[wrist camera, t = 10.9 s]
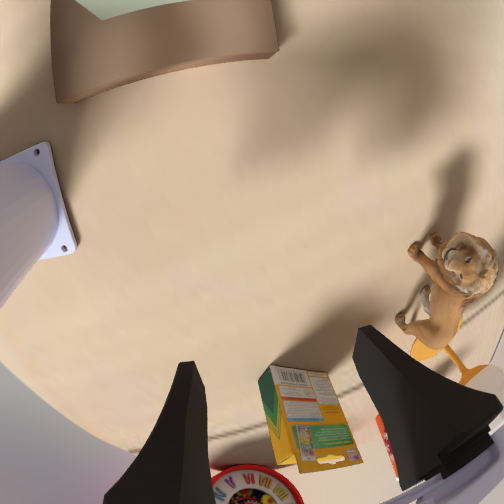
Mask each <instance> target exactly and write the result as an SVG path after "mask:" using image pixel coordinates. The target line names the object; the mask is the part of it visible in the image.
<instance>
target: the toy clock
mask: <svg viewBox="0 0 504 504" xmlns="http://www.w3.org/2000/svg"><path fill="white" fill-rule="evenodd" d="M211 480H212V486H213V491H214V496H215V501H216V504H304V502H303V499H302V497H301V495H300V494H299V492H298V490H297V489H296V488H295V486H294V485H293V484H292V483H291V482H290V481H289V480H288V479H287V478H285V477H284V476H283V475H281V474H280V473H278V472H276V471H274V470H272V469H269V468H267V467H263V466H259V465H251V464H247V465H238V466H233V467H231V468H228V469H226V470H224V471H222V472H220V473H219V474H217V475H215V476H213V477H212V478H211Z"/></svg>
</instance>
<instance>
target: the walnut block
mask: <svg viewBox="0 0 504 504" xmlns="http://www.w3.org/2000/svg"><path fill="white" fill-rule="evenodd" d="M50 31H51V55H52V67H53V78H54V86H55V94H56V101H57V103H76V102H78V101H81V100H83V99H86V98H88V97H91V96H93V95H96V94H99V93H102V92H104V91H107V90H110V89H113V88H116V87H119V86H122V85H126V84H129V83H132V82H136V81H139V80H143V79H146V78H150V77H154V76H158V75H162V74H166V73H170V72H175V71H179V70H184V69H189V68H195V67H200V66H206V65H212V64H219V63H226V62H234V61H243V60H254V59H268V58H270V57H271V56H273V55H274V54H275V53H276V52H278V51H279V47H278V40H277V34H276V28H275V22H274V16H273V10H272V5H271V0H189V1H182V2H175V3H170V4H164V5H159V6H154V7H150V8H145V9H141V10H137V11H133V12H129V13H126V14H122V15H119V16H115V17H112V18H109V19H106V20H103V21H102V20H101V19H99V18H98V17H97V16H96V15H94V14H93V13H92V12H90V11H89V10H88V9H86V8H85V7H84V6H82V5H81V4H79V3H78V2H77V1H75V0H51V13H50Z"/></svg>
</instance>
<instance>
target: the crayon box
mask: <svg viewBox="0 0 504 504" xmlns="http://www.w3.org/2000/svg"><path fill="white" fill-rule="evenodd" d="M258 384H259V389H260V393H261V398H262V402H263V407H264V411H265V415H266V420H267V424H268V429H269V433H270V438H271V442H272V446H273V450H274V455H275V459H276V463H277V465H285V464H297V465H298V468H299V473H300V474H302V473H310V472H317V471H324V470H330V469H336V468H341V467H346V466H351V465H356V464H360V463H363V460H362V458H361V456H360V453H359V451H358V449H357V446H356V443H355V440H354V438H353V436H352V433H351V430H350V428H349V426H348V423H347V421H346V418H345V416H344V413H343V411H342V408H341V406H340V403H339V401H338V398H337V396H336V393H335V391H334V389H333V386H332V384H331V381H330V379H329V376H328V374H327V373H326V372H314V371H306V370H299V369H292V368H284V367H278V366H275V365H270V367H269V368H268V369H267V370H266V372H265V373H264V374H263V375H262V377H261V378H260V379H259V380H258ZM343 456H344V457H345V460H344V461H340V462H336V464H334V465H332V464H329V463H326V464H319V463H318V462H317V461H325V460H332V459H339V458H341V457H343Z"/></svg>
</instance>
